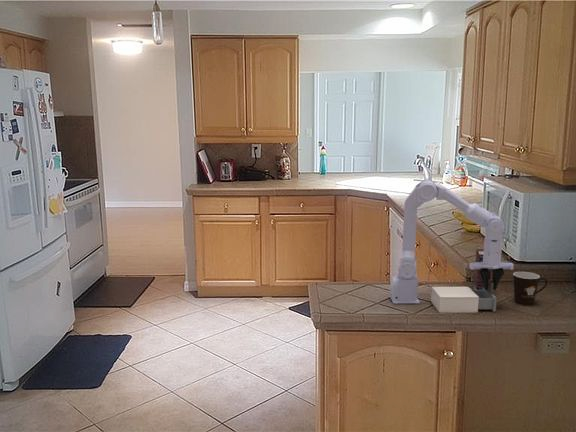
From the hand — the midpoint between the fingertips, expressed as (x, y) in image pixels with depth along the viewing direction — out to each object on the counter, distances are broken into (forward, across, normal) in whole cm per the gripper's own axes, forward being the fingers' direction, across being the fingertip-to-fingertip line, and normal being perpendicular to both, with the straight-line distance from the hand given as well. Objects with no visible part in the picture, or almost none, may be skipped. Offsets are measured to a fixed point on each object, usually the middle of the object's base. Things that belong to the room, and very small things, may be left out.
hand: (489, 289), depth 189 cm
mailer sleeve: (+6, -12, 0) cm, 14 cm away
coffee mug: (+7, +16, +4) cm, 18 cm away
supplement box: (+7, +3, +15) cm, 17 cm away
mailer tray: (+6, -6, 0) cm, 9 cm away
